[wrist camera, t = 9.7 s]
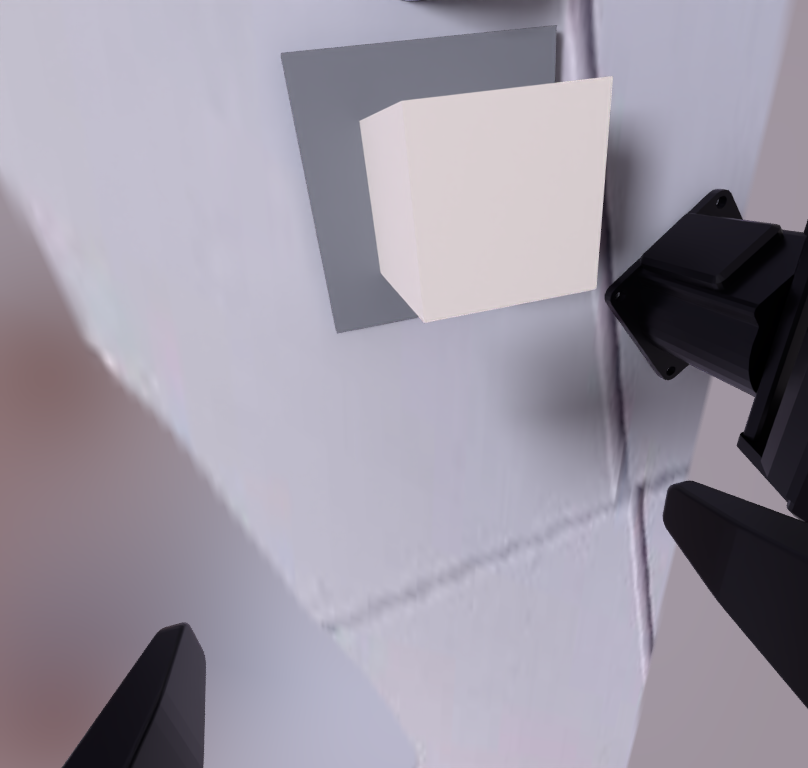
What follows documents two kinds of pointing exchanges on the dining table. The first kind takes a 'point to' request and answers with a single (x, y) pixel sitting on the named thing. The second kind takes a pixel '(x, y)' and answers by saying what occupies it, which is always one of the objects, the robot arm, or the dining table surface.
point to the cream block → (489, 195)
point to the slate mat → (343, 150)
